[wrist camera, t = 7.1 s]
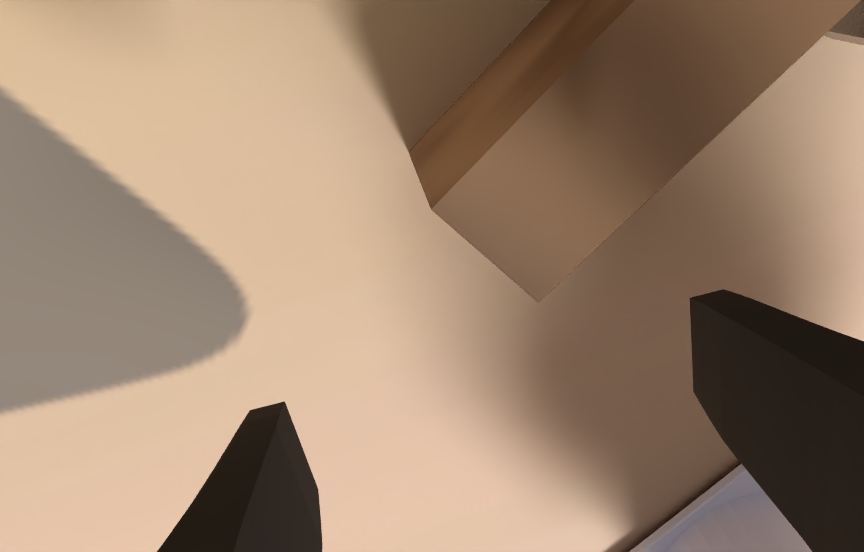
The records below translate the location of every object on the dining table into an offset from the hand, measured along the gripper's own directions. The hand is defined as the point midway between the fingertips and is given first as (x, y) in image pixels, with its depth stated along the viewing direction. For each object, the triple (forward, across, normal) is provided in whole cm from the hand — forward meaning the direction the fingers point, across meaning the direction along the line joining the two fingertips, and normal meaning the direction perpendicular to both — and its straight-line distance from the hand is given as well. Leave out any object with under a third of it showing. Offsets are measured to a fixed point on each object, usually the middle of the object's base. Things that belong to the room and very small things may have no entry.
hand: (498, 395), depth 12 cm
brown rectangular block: (+9, -5, -3) cm, 10 cm away
